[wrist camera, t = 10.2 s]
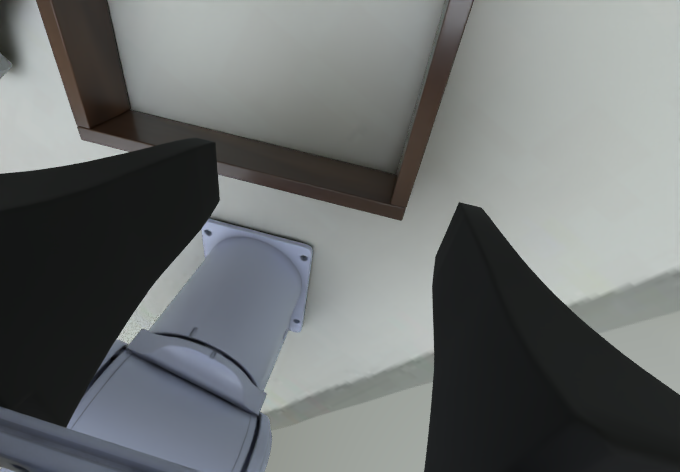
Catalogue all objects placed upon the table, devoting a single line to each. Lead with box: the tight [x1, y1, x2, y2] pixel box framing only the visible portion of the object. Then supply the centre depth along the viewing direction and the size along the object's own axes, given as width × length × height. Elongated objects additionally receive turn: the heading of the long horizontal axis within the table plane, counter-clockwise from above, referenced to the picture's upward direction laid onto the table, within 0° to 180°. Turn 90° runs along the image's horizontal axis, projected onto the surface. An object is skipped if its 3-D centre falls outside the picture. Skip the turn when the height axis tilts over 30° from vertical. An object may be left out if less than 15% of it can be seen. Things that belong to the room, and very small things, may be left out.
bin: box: [36, 0, 474, 221], centre depth 15 cm, size 15×18×3 cm
